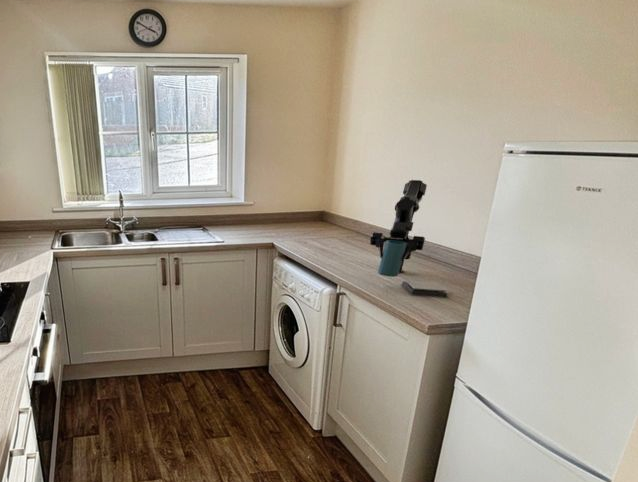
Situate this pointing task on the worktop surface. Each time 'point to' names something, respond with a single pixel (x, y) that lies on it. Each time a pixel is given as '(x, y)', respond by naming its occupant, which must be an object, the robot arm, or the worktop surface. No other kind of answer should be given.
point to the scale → (423, 291)
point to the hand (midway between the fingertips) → (391, 258)
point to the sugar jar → (392, 258)
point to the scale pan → (426, 286)
